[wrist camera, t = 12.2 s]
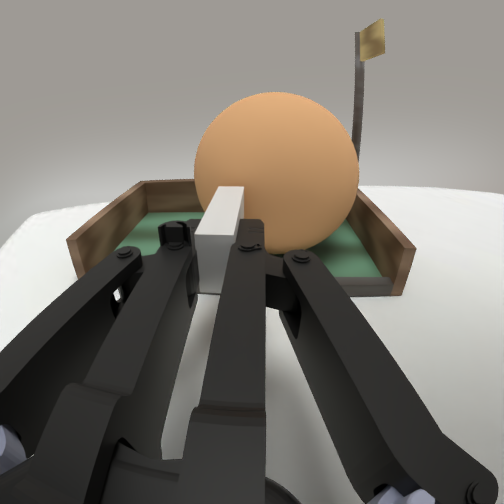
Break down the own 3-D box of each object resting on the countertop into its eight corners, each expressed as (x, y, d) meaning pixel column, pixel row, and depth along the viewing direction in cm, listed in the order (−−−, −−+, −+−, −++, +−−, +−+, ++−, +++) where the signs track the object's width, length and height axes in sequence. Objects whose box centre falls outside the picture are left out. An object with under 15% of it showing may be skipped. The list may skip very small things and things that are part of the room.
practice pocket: (401, 295, 19) (436, -5, 8) (79, 284, 19) (51, 5, 9) (349, 216, 32) (362, 35, 22) (144, 211, 33) (135, 36, 22)
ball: (228, 294, 25) (321, 228, 31) (316, 271, 13) (414, 184, 19) (155, 173, 25) (259, 133, 30) (184, 70, 13) (323, 56, 19)
